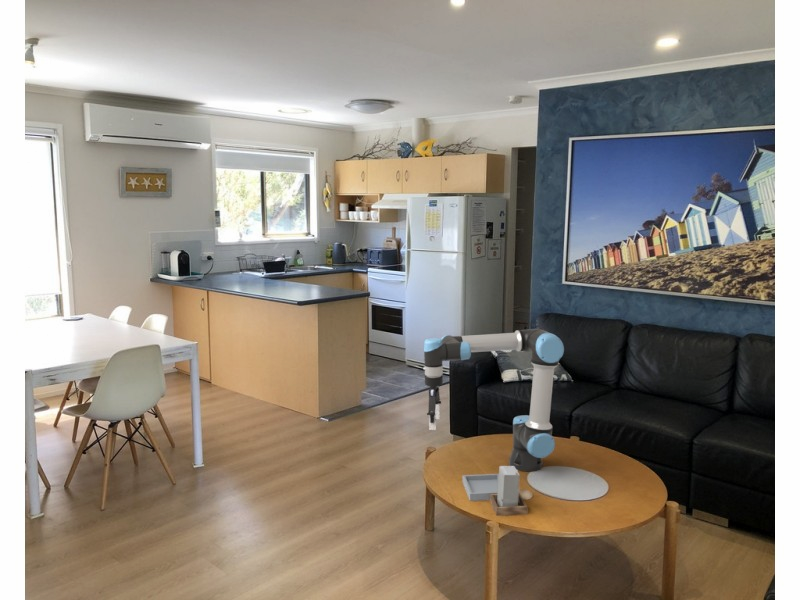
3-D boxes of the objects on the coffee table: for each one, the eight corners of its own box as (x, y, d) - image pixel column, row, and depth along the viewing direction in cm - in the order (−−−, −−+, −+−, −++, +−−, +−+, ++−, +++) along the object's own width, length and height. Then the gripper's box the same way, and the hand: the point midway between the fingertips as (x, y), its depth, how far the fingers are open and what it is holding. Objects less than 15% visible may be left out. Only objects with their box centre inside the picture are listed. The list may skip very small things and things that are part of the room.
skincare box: (496, 503, 245) (496, 465, 243) (514, 502, 245) (514, 464, 243) (501, 513, 237) (502, 474, 234) (519, 512, 237) (520, 473, 235)
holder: (519, 499, 247) (519, 492, 247) (527, 514, 235) (527, 506, 235) (489, 501, 247) (489, 494, 246) (496, 515, 235) (496, 508, 234)
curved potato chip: (529, 489, 256) (529, 488, 256) (535, 499, 247) (535, 498, 247) (508, 490, 256) (508, 489, 256) (513, 500, 247) (513, 499, 247)
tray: (498, 480, 266) (498, 473, 265) (508, 499, 248) (508, 492, 248) (462, 481, 265) (462, 475, 264) (469, 500, 247) (469, 493, 247)
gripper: (428, 367, 268) (429, 414, 271) (420, 383, 244) (421, 434, 247) (445, 368, 267) (446, 414, 270) (439, 383, 242) (440, 434, 245)
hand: (434, 424), depth 258 cm, fingers open, 13 cm apart
